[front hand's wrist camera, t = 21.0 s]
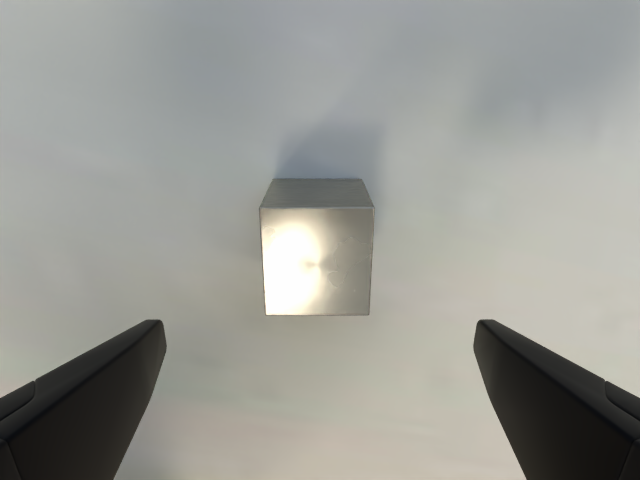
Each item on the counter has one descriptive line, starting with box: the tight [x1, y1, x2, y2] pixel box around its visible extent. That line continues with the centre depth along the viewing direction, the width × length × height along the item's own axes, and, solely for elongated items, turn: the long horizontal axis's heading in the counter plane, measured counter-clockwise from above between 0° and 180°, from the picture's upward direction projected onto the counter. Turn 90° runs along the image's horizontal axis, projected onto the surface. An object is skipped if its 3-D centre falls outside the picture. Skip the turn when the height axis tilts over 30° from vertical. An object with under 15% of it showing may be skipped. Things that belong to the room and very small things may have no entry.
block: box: [259, 179, 375, 315], centre depth 18 cm, size 5×4×5 cm
